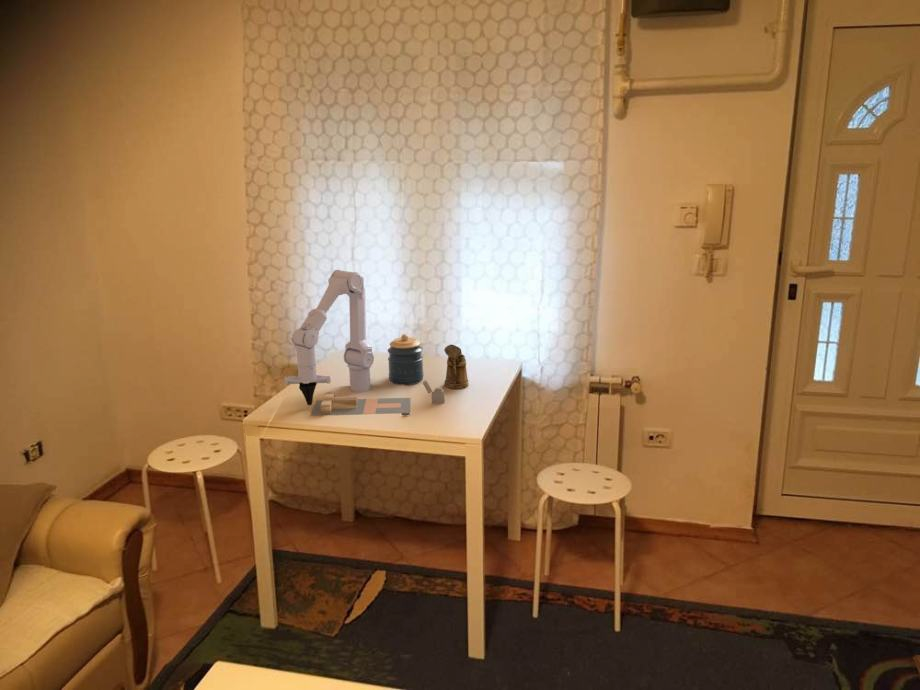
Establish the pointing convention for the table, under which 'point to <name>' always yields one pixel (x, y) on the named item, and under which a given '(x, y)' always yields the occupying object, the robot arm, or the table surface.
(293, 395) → the table surface
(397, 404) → the slate board
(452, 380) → the bronze figurine
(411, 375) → the canister
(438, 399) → the lighter
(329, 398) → the t block
